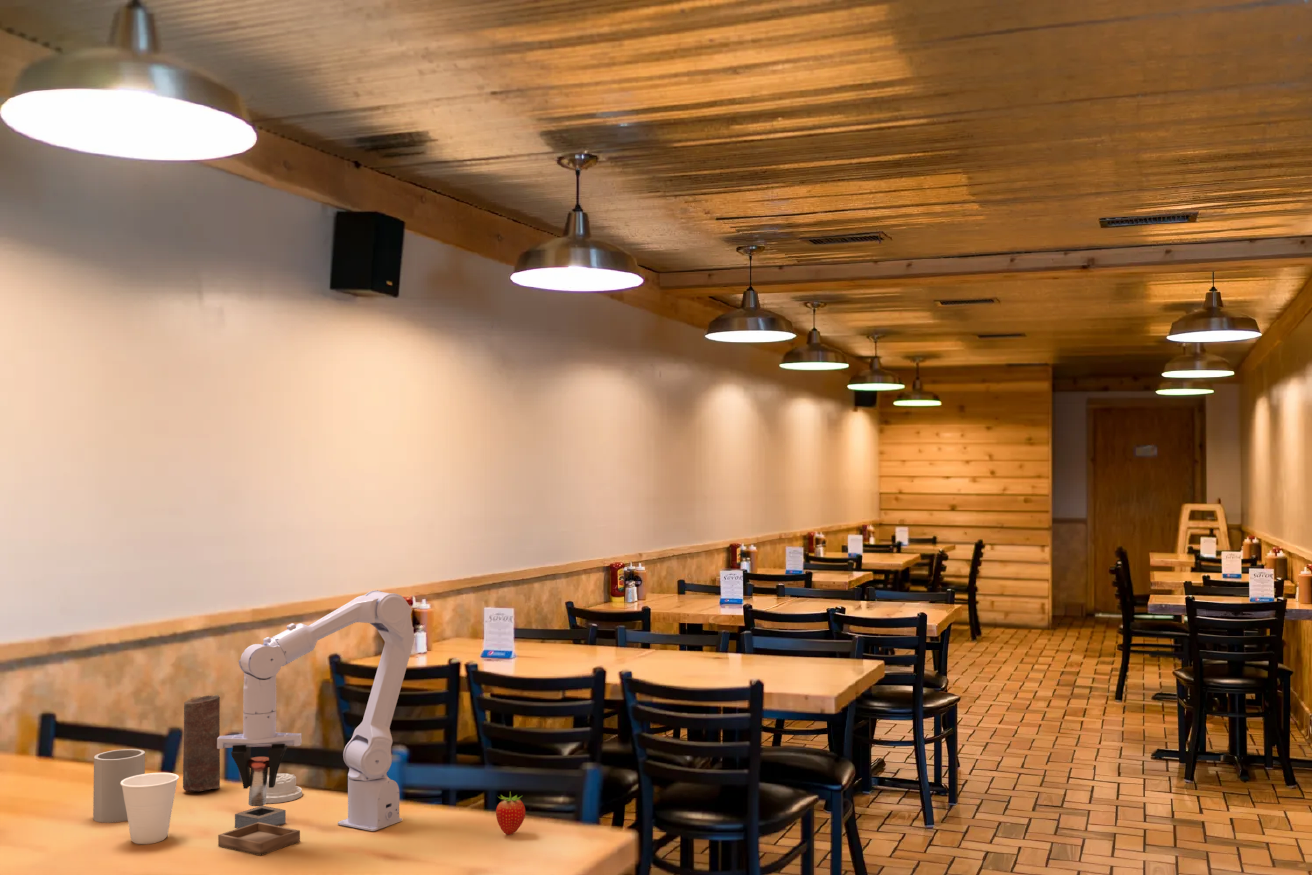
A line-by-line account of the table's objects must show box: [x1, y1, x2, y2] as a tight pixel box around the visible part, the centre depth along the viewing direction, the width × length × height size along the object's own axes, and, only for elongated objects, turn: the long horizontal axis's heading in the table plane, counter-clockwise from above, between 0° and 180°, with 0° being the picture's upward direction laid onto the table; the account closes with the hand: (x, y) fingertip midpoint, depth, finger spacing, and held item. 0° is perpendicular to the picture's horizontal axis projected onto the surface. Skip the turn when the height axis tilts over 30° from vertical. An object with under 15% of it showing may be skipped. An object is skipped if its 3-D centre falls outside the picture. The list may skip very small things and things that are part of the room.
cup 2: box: [120, 772, 180, 845], centre depth 211 cm, size 10×10×11 cm
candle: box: [182, 694, 221, 793], centre depth 245 cm, size 8×7×20 cm
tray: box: [217, 822, 301, 856], centre depth 208 cm, size 11×9×2 cm
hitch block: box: [234, 805, 287, 829], centre depth 219 cm, size 6×6×2 cm
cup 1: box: [92, 748, 146, 824], centre depth 227 cm, size 9×9×12 cm
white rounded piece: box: [266, 772, 303, 804], centre depth 239 cm, size 10×4×10 cm
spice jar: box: [248, 756, 269, 807], centre depth 209 cm, size 4×4×8 cm
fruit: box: [495, 791, 526, 836], centre depth 212 cm, size 5×5×8 cm
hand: (259, 786), depth 208 cm, fingers closed on spice jar, 4 cm apart
